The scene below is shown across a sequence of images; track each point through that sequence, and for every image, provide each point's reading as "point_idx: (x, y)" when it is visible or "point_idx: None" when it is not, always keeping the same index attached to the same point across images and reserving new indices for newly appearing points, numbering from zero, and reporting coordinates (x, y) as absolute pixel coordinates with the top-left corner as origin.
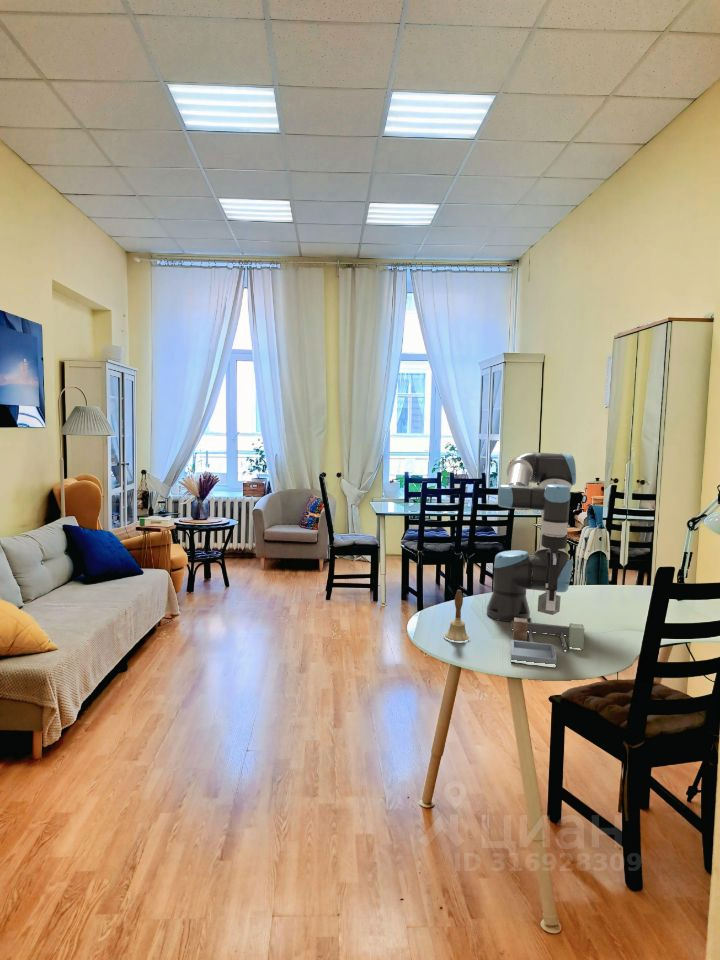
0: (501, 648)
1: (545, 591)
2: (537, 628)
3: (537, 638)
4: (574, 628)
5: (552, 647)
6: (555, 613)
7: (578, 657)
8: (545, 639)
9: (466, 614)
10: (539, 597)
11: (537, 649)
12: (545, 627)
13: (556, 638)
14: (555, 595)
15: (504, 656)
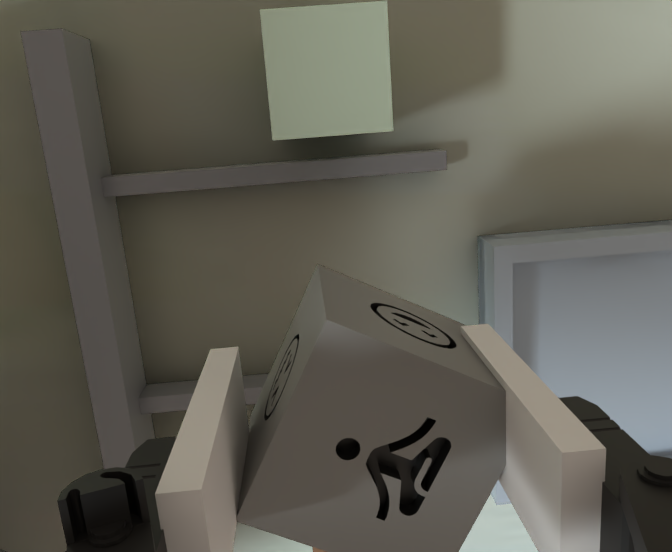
0: (509, 517)
1: (233, 532)
2: (130, 359)
3: (242, 338)
4: (390, 97)
5: (557, 252)
6: (412, 303)
7: (514, 70)
8: (238, 288)
9: None
10: None
11: (523, 335)
12: (116, 309)
13: (182, 216)
14: (564, 414)
15: None
